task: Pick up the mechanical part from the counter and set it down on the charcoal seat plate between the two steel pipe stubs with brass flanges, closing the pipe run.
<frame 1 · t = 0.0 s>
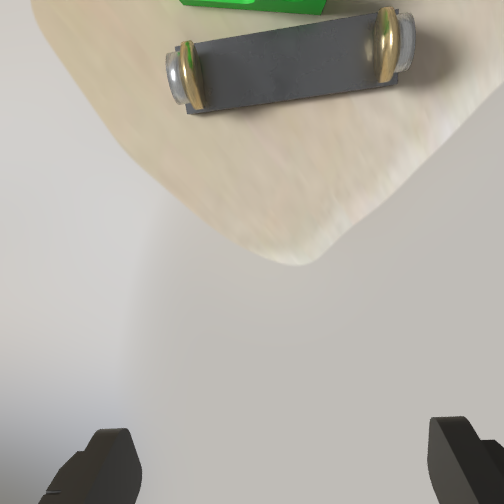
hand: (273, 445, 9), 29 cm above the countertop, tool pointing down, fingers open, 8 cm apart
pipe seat: (285, 66, 32), on the countertop
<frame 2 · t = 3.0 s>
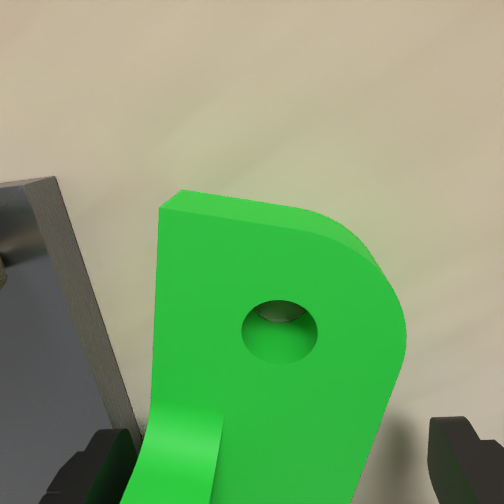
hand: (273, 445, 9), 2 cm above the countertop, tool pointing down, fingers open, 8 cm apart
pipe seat: (70, 444, 13), on the countertop
mechanical part: (262, 380, 12), on the countertop
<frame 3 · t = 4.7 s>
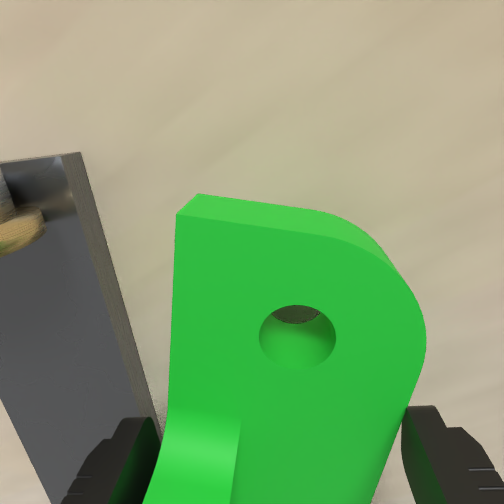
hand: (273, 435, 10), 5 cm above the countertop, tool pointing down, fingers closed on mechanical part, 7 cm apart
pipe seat: (83, 383, 15), on the countertop
mechanical part: (277, 384, 12), point 3 cm above the countertop, touching gripper
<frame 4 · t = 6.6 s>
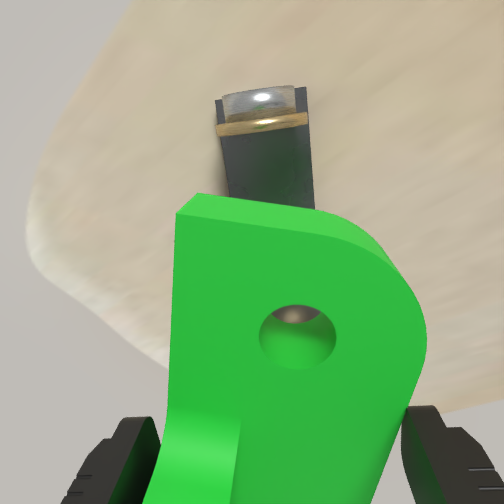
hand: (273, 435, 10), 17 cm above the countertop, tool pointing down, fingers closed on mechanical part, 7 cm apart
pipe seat: (276, 234, 26), on the countertop
mechanical part: (277, 383, 12), point 16 cm above the countertop, touching gripper
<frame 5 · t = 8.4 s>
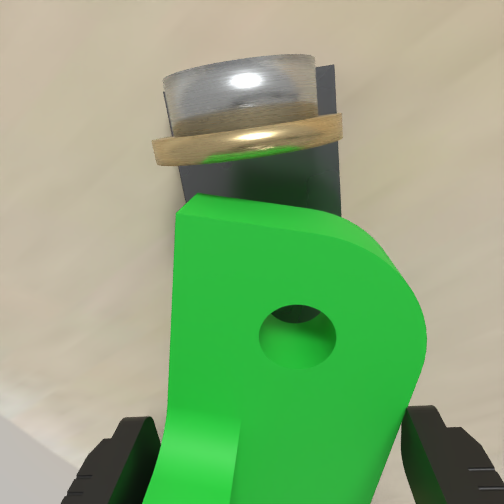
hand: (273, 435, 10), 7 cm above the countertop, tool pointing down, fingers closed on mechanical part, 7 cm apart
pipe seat: (278, 313, 16), on the countertop
mechanical part: (277, 383, 12), point 5 cm above the countertop, touching gripper
when the fingers open (5 cm above the countertop, at t = 9.9 s): mechanical part drops 2 cm, resting on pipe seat.
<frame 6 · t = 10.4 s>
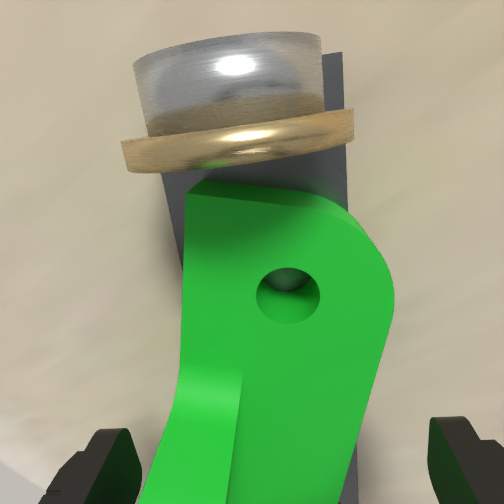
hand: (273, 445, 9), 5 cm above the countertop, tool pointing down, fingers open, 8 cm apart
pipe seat: (275, 334, 14), on the countertop
mechanical part: (273, 347, 13), point 1 cm above the countertop, touching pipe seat
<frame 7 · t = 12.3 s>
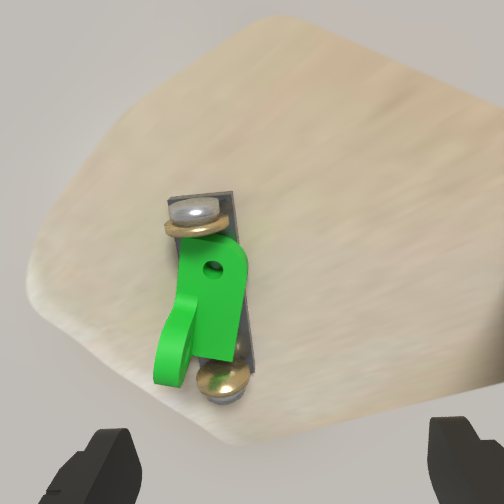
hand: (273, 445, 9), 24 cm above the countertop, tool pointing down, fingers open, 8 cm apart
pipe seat: (216, 288, 35), on the countertop
mechanical part: (212, 292, 34), point 1 cm above the countertop, touching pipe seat
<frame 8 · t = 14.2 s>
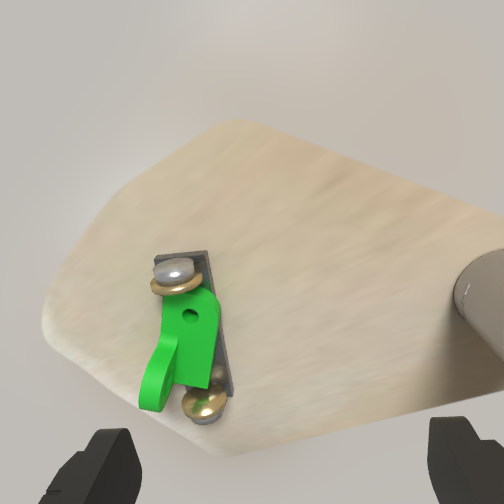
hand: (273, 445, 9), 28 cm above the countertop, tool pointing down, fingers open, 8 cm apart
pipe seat: (198, 327, 42), on the countertop
mechanical part: (191, 330, 41), point 1 cm above the countertop, touching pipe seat
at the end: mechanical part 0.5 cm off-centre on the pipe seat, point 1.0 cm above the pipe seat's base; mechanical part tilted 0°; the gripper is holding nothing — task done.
